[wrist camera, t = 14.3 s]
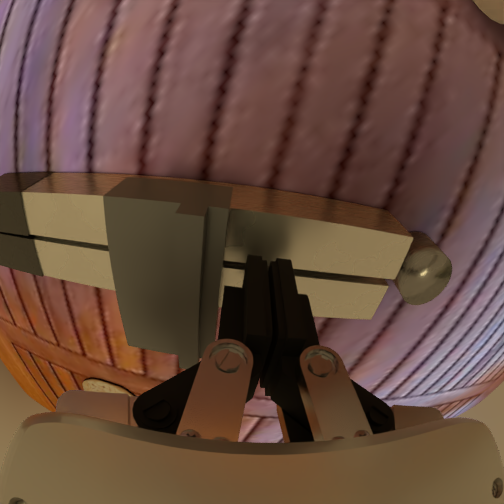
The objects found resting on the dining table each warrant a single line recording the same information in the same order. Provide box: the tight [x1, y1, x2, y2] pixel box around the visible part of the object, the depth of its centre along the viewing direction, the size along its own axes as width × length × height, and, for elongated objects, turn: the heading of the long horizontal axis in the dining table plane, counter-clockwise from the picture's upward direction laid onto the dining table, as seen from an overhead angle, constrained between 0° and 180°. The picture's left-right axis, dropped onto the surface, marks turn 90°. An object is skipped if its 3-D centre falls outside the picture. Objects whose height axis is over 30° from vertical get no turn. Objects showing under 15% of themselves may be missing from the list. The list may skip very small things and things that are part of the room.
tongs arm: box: [0, 172, 414, 279], centre depth 12 cm, size 24×2×3 cm, turn 82°
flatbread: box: [83, 379, 133, 396], centre depth 25 cm, size 8×8×1 cm
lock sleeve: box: [103, 177, 233, 369], centre depth 10 cm, size 4×7×3 cm, turn 171°
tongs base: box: [0, 231, 452, 319], centre depth 13 cm, size 29×5×3 cm, turn 81°
